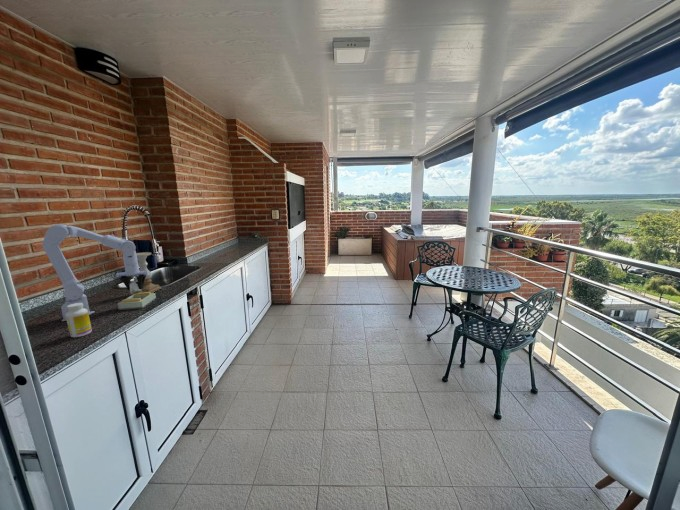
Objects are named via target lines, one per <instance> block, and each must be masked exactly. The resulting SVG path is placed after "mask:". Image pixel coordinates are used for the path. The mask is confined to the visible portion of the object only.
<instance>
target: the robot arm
mask: <svg viewBox="0 0 680 510" xmlns="http://www.w3.org/2000/svg"><path fill="white" fill-rule="evenodd" d="M45 231H46V232H45V235H44V236H43V237H44V238H43V241H42V244H41V247H42V249H43V250H44V252H45V254H46V256H47V258H48V260H49V261H50V263H51V265H52V267H53V269H54V270H55V272H56V274H57V276H58V278H59V279H60V281H61V284H62V287H63V290H64V294H63V295H64V297H65V302H63V304H62V305H61V310H60V311H61V314H62V318H63V319H61V321H62V322H67V320H66V313H67V312H69V310H68V309H67V306H68V305H71V304H75V303H83V308H85V309H87V310H88V314H89V316H90V315H92V314H94V313H95V311H94V310H93V311H90V306H89V301H88V297H87V295H86V294H85V293H84V292H85V286H84V284H82V283H81V282H80V281H79V280H78V278H77V277H76V275H74V272H73V271H72V268H71V267H70V265H69V263H68V261H67V259H66V257H65V256H64V254H63V252H62V250H61V248H60V245H61V243H62V242H63V240H65V239H66V238H67V237H70V238H72V237H82V238H86V239H89V240H93V241H97V242H100V243H101V245H103V246H104V247H107V248H111V249H115V250H118V251H120V250H121V251H122V259H123V264H124V265H123V266H124V272H122V271H121V272H117V273H115V277H116V278H119V279H120V281H121V282H122V283H123V284H124V285H125V287H126V289H127V291H130V288H129V282H130V281H132V280H131V277H135V278H136V279H137V281H138V284H139V289H143V284H144V280H145V278H146V275H149V271H150V270H149V271H139V270H140V267H139V266H138V263H139V261H138V259H137V255H136V253H137V251H136V249H137V247H136V245H135V243H134V242H133V241H131V240H127V239H126V238H120V237H117V236H115V234H113V233H111V235H110V234H105V235H102V234H99V233H96V232H93V231H90V230H86V229H84V228H81V227H78V226H75V225H67V224H64V223H57V224H54V225H52V226H50V227H49V228H48V229H47V230H45ZM137 276H138V277H137Z"/></svg>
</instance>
